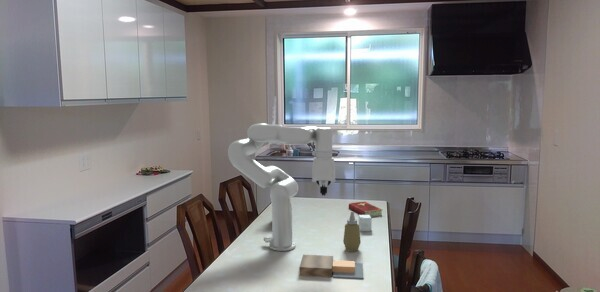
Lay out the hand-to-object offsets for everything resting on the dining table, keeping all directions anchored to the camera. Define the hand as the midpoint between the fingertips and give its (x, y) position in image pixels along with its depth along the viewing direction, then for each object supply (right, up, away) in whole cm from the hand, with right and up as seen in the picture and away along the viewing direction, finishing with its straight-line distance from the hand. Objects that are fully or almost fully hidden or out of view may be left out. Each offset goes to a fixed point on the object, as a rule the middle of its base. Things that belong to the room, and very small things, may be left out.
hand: (323, 194), depth 186 cm
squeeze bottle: (+14, -27, +7) cm, 31 cm away
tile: (+7, -29, -17) cm, 34 cm away
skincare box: (+24, -23, +35) cm, 49 cm away
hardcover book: (+30, -19, +69) cm, 77 cm away
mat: (+9, -29, -17) cm, 35 cm away
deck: (-4, -29, -15) cm, 33 cm away
